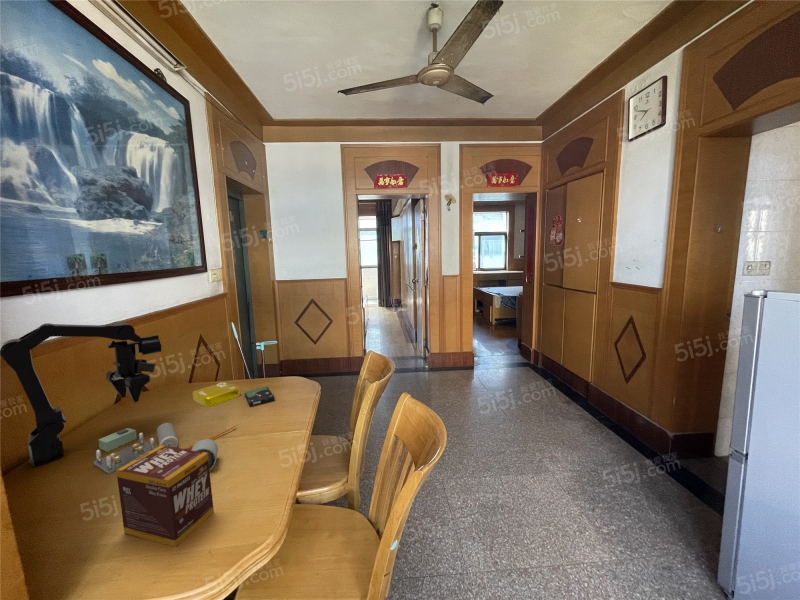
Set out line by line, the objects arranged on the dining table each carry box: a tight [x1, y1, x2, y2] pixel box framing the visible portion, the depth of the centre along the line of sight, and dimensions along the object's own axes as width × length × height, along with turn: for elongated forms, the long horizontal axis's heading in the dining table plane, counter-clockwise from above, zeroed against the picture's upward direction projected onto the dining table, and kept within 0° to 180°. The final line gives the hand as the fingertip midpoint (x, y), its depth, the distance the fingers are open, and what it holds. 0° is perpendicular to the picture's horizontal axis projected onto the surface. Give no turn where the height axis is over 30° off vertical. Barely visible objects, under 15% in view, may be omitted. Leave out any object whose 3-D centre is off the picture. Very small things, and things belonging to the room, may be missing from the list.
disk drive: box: [244, 386, 276, 408], centre depth 147 cm, size 10×3×15 cm
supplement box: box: [115, 445, 215, 548], centre depth 76 cm, size 10×15×16 cm
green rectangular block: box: [97, 427, 138, 453], centre depth 112 cm, size 8×5×4 cm, turn 154°
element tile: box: [192, 381, 240, 408], centre depth 149 cm, size 15×15×5 cm
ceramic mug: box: [191, 438, 219, 472], centre depth 97 cm, size 11×8×8 cm
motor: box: [156, 422, 239, 450], centre depth 118 cm, size 23×22×5 cm
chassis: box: [93, 432, 158, 475], centre depth 103 cm, size 13×10×4 cm
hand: (129, 399), depth 119 cm, fingers open, 9 cm apart
